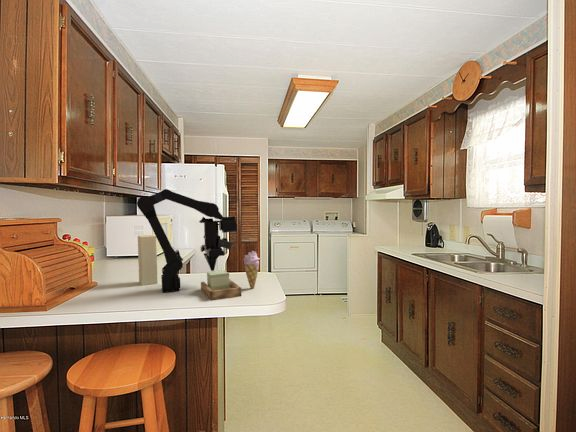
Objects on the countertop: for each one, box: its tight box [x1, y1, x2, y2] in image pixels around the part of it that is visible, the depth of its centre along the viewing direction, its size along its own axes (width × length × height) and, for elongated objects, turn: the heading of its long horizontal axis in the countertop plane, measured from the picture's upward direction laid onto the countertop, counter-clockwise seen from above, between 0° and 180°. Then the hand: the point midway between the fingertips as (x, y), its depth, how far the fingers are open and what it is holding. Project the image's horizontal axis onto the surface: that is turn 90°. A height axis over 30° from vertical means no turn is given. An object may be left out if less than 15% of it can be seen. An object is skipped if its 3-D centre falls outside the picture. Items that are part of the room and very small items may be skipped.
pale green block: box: [206, 269, 230, 290], centre depth 138 cm, size 7×7×6 cm
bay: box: [200, 278, 243, 301], centre depth 135 cm, size 11×18×3 cm, turn 24°
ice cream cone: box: [243, 250, 261, 290], centre depth 139 cm, size 7×6×15 cm
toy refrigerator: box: [137, 234, 159, 286], centre depth 154 cm, size 8×7×21 cm
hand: (212, 270), depth 146 cm, fingers closed
